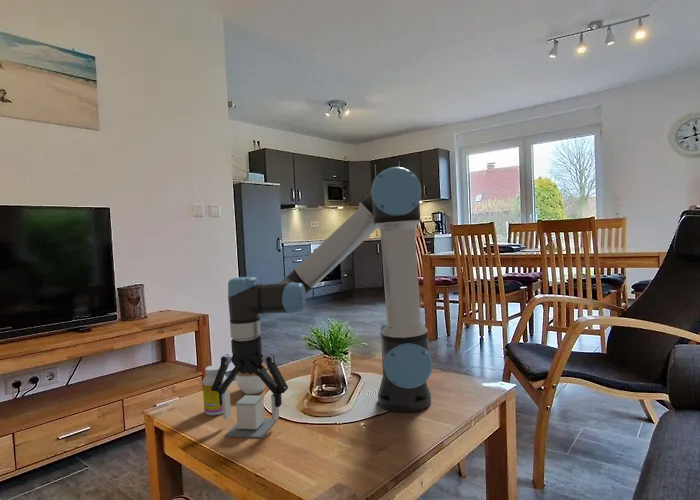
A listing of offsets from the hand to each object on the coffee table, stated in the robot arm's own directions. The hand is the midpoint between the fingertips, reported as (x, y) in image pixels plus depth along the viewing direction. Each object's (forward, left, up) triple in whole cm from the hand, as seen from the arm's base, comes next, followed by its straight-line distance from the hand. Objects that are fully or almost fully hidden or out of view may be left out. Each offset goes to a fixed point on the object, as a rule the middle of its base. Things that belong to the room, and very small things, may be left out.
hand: (251, 417), depth 112 cm
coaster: (0, 0, -3) cm, 3 cm away
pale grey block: (0, 0, -2) cm, 2 cm away
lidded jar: (+11, -25, -3) cm, 27 cm away
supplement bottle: (+15, -9, -3) cm, 18 cm away
